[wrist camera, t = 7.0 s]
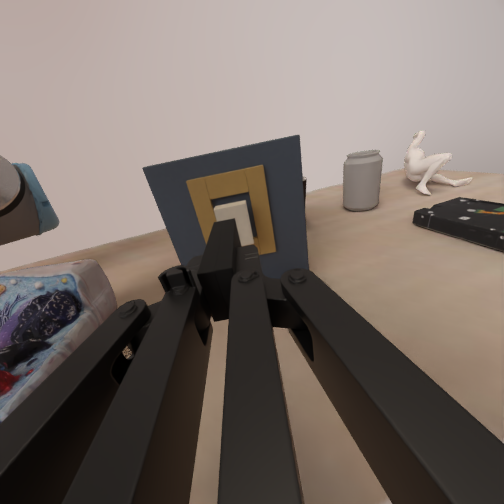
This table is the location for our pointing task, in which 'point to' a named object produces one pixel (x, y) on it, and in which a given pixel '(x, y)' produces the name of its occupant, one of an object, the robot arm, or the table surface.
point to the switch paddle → (237, 219)
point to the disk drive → (466, 220)
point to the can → (362, 180)
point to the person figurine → (427, 166)
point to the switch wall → (233, 190)
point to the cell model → (46, 322)
